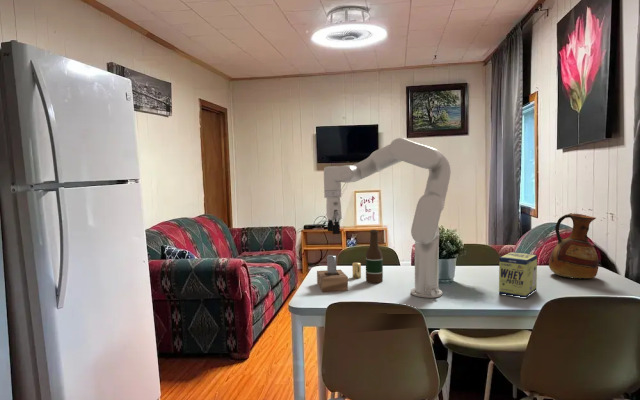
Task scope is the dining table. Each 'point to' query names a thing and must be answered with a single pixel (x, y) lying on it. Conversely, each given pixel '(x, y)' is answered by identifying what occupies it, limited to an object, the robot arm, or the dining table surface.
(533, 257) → the protein box
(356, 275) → the short brass pin
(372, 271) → the beer bottle
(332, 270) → the long steel pin
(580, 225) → the ceramic pitcher
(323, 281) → the walnut hole block
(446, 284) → the dining table surface
